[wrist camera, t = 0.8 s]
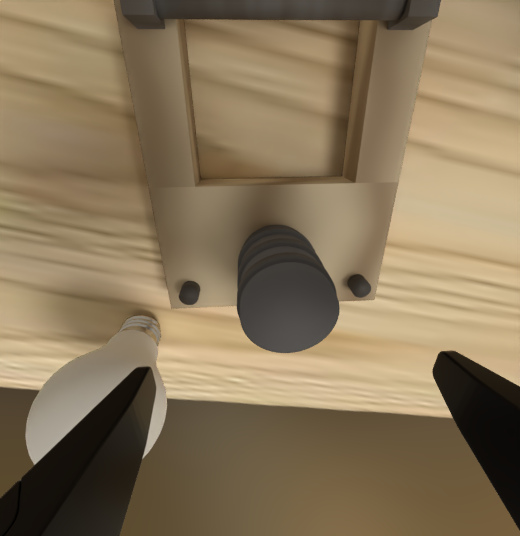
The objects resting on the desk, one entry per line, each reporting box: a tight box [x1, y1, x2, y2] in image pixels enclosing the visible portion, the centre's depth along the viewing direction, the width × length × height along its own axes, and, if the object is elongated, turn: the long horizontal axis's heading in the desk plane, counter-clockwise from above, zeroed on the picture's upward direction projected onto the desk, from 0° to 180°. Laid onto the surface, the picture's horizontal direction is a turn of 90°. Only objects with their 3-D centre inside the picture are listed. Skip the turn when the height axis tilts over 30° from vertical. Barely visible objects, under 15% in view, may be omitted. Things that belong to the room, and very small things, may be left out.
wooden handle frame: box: [114, 0, 441, 309], centre depth 16 cm, size 14×16×4 cm
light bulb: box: [26, 315, 167, 464], centre depth 17 cm, size 7×7×11 cm
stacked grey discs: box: [237, 225, 339, 353], centre depth 15 cm, size 5×5×6 cm
